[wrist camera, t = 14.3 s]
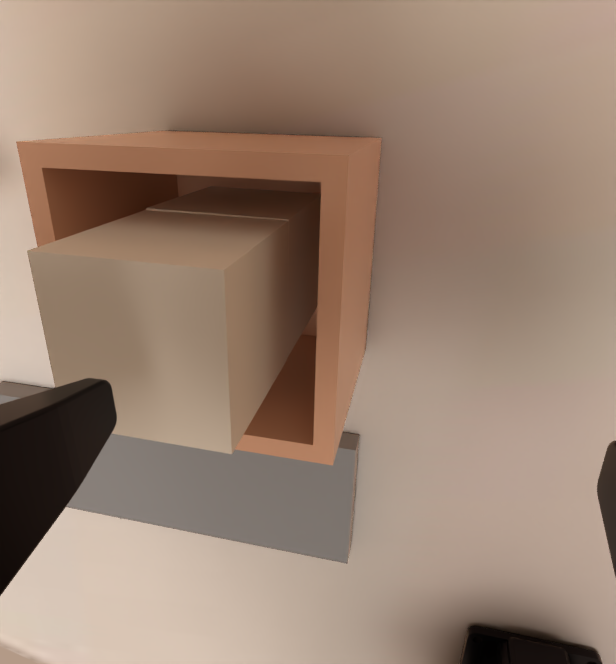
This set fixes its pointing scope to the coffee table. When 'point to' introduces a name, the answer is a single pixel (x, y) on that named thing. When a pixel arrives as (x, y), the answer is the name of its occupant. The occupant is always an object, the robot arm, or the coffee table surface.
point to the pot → (251, 173)
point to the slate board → (223, 491)
